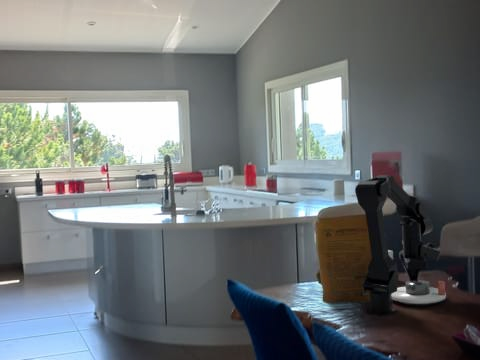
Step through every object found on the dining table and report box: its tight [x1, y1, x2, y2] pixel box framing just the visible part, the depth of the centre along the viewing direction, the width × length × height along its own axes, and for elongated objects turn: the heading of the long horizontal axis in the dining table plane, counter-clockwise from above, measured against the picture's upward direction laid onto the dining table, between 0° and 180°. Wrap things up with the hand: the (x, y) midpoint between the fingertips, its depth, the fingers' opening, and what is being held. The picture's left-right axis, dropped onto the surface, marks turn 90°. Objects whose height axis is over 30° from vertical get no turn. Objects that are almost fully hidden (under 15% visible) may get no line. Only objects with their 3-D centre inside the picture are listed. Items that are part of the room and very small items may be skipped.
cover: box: [404, 279, 431, 296], centre depth 177 cm, size 7×7×4 cm
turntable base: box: [399, 302, 438, 307], centre depth 177 cm, size 12×12×1 cm
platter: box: [391, 280, 447, 304], centre depth 177 cm, size 17×17×5 cm
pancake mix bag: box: [314, 213, 372, 304], centre depth 180 cm, size 7×19×28 cm, turn 84°
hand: (414, 285), depth 182 cm, fingers closed
